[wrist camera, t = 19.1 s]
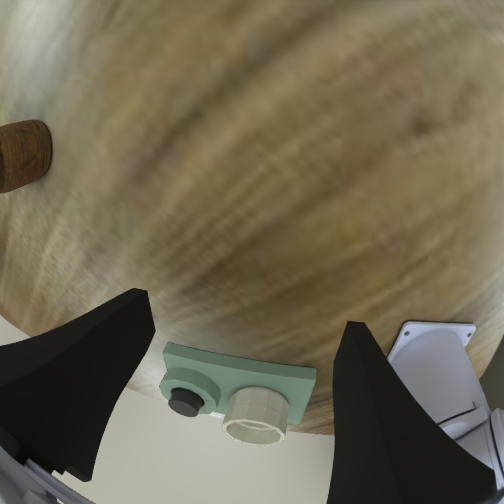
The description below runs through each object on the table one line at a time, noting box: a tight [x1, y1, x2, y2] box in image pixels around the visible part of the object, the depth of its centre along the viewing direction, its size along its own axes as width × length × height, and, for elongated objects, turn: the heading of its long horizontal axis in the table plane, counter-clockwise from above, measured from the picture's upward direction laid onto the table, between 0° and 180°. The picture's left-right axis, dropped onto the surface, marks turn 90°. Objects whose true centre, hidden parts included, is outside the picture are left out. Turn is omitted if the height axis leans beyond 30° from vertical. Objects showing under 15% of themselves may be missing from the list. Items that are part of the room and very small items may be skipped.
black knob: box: [168, 387, 203, 417], centre depth 23 cm, size 3×3×2 cm
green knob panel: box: [159, 343, 317, 425], centre depth 24 cm, size 14×9×3 cm, turn 88°
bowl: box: [222, 387, 289, 446], centre depth 22 cm, size 6×6×4 cm
